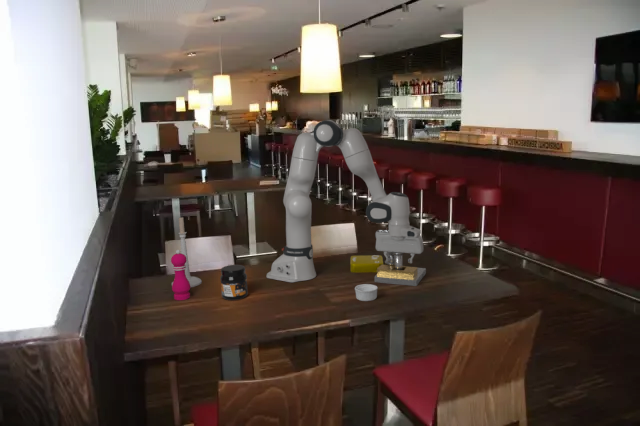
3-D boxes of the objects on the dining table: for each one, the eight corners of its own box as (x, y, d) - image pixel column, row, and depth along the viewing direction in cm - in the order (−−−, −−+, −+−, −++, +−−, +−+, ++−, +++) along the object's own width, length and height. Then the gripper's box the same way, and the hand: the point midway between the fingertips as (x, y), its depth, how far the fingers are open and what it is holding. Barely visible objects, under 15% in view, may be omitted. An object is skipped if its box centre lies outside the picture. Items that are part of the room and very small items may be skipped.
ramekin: (351, 296, 207) (351, 285, 206) (371, 292, 210) (371, 282, 209) (360, 303, 199) (360, 292, 198) (381, 299, 202) (381, 289, 201)
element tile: (350, 264, 252) (350, 254, 252) (382, 263, 251) (382, 254, 250) (350, 273, 238) (350, 263, 237) (383, 273, 237) (383, 262, 236)
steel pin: (393, 280, 225) (392, 252, 223) (395, 277, 228) (394, 250, 226) (402, 280, 223) (401, 253, 221) (404, 277, 227) (403, 250, 225)
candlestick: (178, 290, 222) (171, 220, 216) (167, 283, 232) (161, 216, 227) (206, 283, 229) (201, 216, 224) (194, 277, 239) (189, 212, 234)
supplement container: (224, 302, 205) (222, 273, 203) (219, 294, 214) (217, 266, 212) (251, 298, 209) (249, 269, 206) (244, 290, 218) (242, 262, 216)
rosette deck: (374, 282, 223) (374, 254, 221) (386, 270, 239) (386, 244, 237) (416, 286, 216) (416, 257, 214) (425, 273, 232) (425, 247, 230)
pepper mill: (172, 301, 208) (168, 253, 204) (172, 296, 215) (168, 248, 211) (191, 299, 210) (187, 251, 206) (191, 293, 217) (187, 246, 213)
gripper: (373, 230, 223) (373, 262, 226) (420, 233, 215) (420, 266, 217) (377, 227, 229) (378, 258, 231) (424, 230, 221) (424, 261, 223)
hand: (399, 262), depth 224 cm, fingers open, 8 cm apart
